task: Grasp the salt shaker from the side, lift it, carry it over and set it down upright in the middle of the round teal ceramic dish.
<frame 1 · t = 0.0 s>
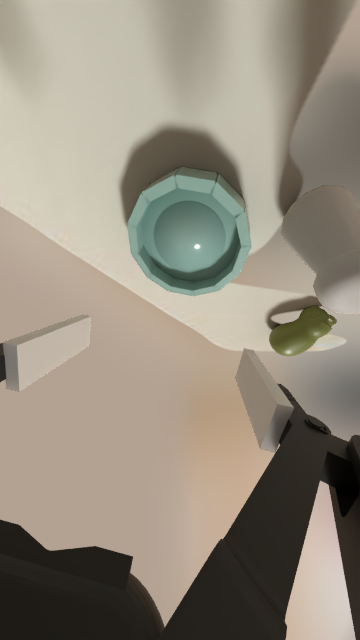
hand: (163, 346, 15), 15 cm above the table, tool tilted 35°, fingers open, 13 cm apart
pear: (296, 320, 31), on the table
dish: (190, 238, 24), on the table
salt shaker: (308, 211, 19), on the table
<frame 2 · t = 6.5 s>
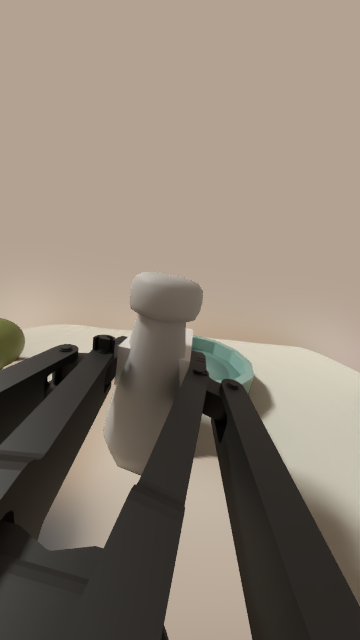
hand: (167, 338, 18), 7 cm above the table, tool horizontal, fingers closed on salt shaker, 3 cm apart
dish: (195, 372, 26), on the table
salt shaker: (141, 448, 14), on the table, touching gripper
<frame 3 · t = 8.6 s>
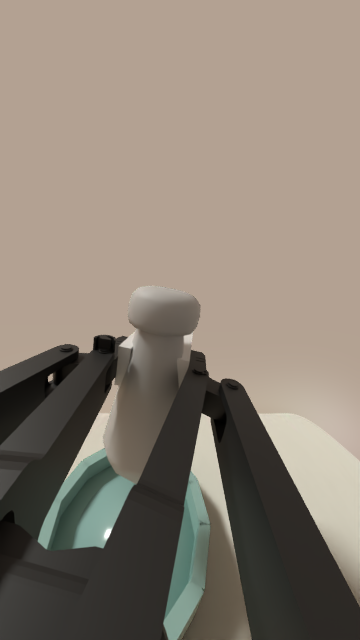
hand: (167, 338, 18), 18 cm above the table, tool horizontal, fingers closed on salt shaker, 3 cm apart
dish: (127, 533, 17), on the table
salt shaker: (141, 456, 14), point 10 cm above the table, touching gripper
when the fingers open (10 cm above the table, at t = 10.7 s): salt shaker stays where it is, resting on dish.
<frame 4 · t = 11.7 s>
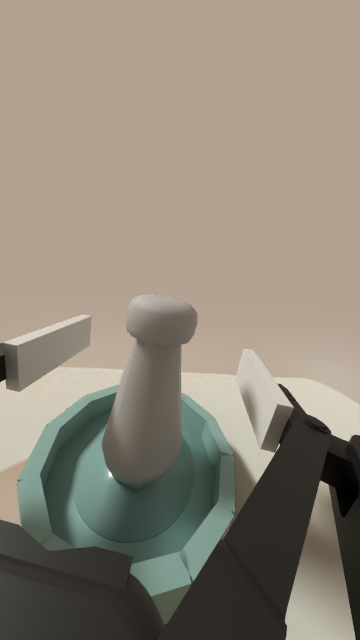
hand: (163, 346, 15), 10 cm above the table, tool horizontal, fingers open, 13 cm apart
dish: (137, 470, 15), on the table
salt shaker: (139, 462, 14), point 1 cm above the table, touching dish
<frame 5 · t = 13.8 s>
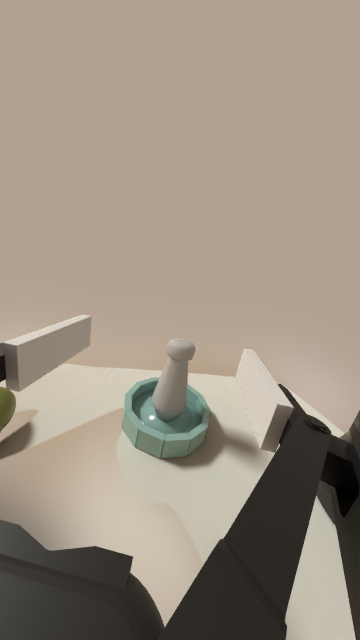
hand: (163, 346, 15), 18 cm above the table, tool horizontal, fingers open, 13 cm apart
dish: (165, 417, 31), on the table
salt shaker: (166, 412, 31), point 1 cm above the table, touching dish
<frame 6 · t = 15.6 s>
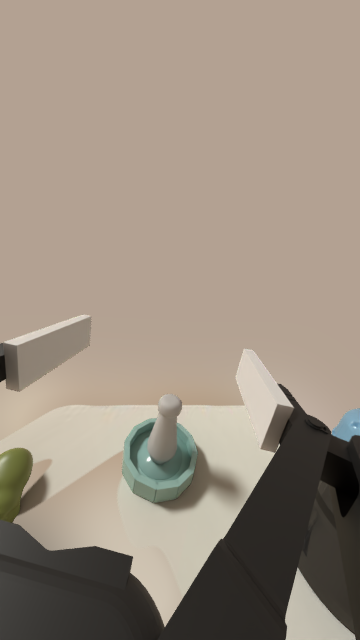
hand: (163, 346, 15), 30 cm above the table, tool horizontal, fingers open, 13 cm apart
pear: (5, 499, 27), on the table
dish: (159, 458, 36), on the table
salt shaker: (160, 455, 36), point 1 cm above the table, touching dish
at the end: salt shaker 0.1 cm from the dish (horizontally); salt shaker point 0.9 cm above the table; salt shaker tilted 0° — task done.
